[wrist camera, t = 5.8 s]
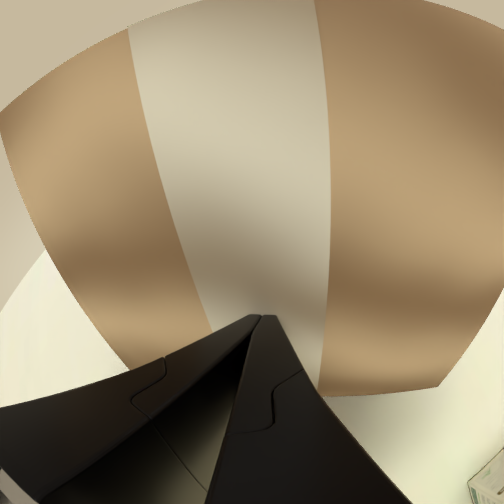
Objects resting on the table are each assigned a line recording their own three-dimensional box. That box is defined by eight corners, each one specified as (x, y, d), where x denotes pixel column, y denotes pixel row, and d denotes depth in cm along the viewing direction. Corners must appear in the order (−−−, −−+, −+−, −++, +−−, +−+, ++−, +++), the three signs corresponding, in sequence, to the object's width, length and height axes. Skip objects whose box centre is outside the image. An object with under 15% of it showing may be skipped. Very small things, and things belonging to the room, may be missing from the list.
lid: (434, 370, 11) (438, 388, 10) (138, 358, 14) (131, 374, 13) (526, 51, 2) (551, 56, 2) (16, 107, 6) (-6, 117, 5)
